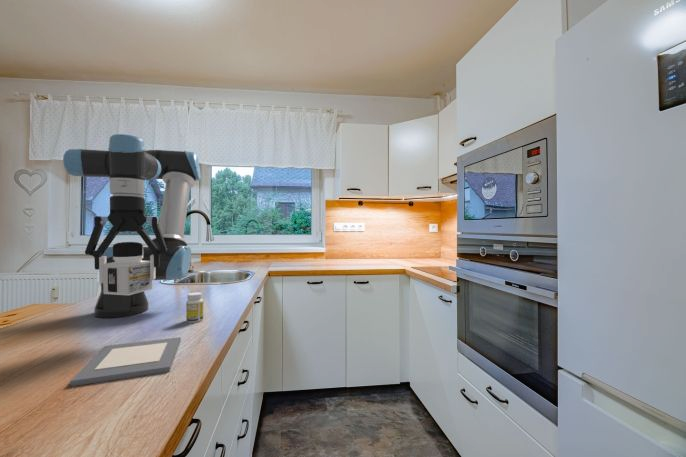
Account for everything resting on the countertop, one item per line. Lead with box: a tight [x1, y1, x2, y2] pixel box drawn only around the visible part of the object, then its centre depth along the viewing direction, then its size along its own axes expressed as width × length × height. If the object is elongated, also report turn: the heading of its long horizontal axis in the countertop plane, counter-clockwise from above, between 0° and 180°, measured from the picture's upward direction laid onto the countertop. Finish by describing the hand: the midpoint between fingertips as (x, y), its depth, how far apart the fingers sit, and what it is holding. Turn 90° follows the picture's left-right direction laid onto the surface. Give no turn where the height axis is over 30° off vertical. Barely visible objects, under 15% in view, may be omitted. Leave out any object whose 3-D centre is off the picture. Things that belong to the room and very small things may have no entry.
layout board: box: [70, 336, 181, 387], centre depth 68 cm, size 18×16×1 cm
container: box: [103, 241, 153, 295], centre depth 82 cm, size 8×8×13 cm
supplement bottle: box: [185, 291, 204, 324], centre depth 97 cm, size 5×5×8 cm
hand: (128, 280), depth 82 cm, fingers closed on container, 10 cm apart
